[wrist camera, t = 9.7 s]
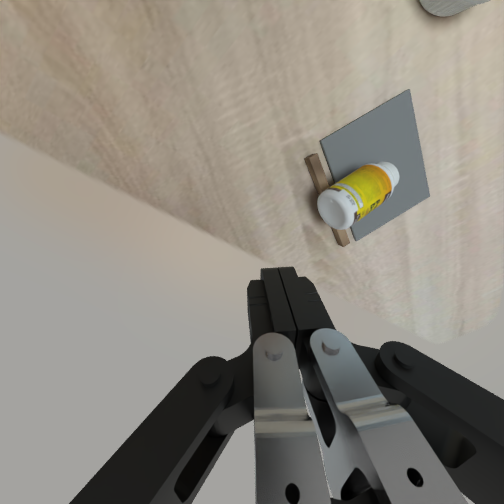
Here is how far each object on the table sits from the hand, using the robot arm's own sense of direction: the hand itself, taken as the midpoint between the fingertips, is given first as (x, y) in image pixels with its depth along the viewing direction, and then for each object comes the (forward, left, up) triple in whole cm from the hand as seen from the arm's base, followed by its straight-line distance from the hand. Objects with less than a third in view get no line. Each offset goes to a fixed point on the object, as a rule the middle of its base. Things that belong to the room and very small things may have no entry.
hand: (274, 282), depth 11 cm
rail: (+6, +14, -21) cm, 26 cm away
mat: (+6, +23, -21) cm, 32 cm away
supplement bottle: (+6, +11, -16) cm, 21 cm away
